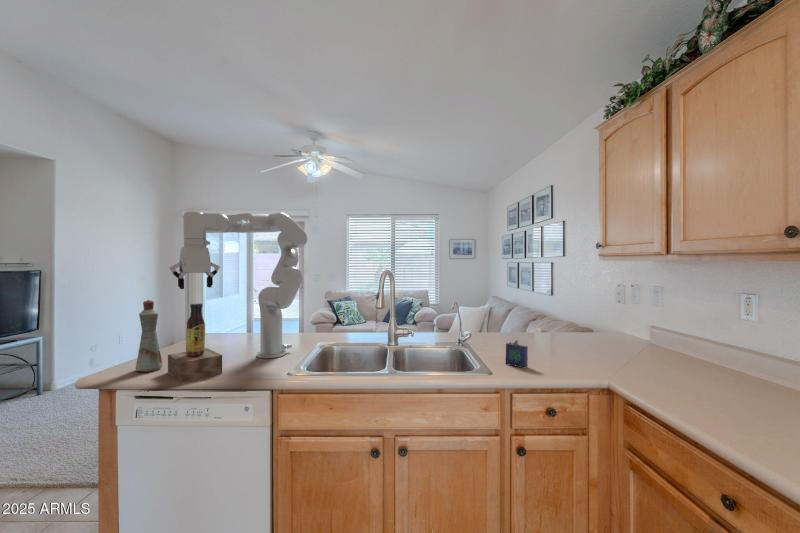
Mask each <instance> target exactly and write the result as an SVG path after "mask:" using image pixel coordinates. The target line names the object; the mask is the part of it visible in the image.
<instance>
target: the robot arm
mask: <svg viewBox="0 0 800 533" xmlns="http://www.w3.org/2000/svg"><path fill="white" fill-rule="evenodd" d="M182 221H183V246H181V248H180V252H179V262H176V263H174V264H173V265H171V266H169V268H168V269H169V270H170V272H171V273H172V275H173V276H174V277H175V278H176V279H177V286H178V288H179V290H184V289H185V278H184V276H186V274H204V273H205V275H206V276H207V277H206V288H213V287H212V286H213V284H214V281H213V280H214V279H213V278H214V277H215V276H216V274H218V272H219V269H220V265H217V264H216V263H213V262H211V254H210V251H209V247H207V246H210V245H211V241H209V240H207V234H215V233H216V234H217V233H218V234H219V233H220V234H221V233H241V234H243V233H244V234H245V233H246V234H247V233H254V234H255V233H277V232H279V233H278V235H277V244H278V246H279V249H280V253H281V254H280V256H279V260H278V261H277V264H276V266H275V267H274V270H273V272H272V273H271V283H272V284H273V285H275V286H267V287H264V288H263V289H261V290H260V292H259V294H258V297H257V298H258V306H259V314H260V315H259V316H260V323H259V324H260V326H259V328H260V330H259V331H260V333H259V334H260V337H259V338H260V347H259V348H260V350H259V352H257V353H256V357H257V358H259V359H275V358H281V357H283V356H285V355H286V349H292V348H293V345H292V343H288V344H286V343H283V312H282V310H285V309H287V308H289V307H291V305H292V304H293V302H294V300H295V298H296V296H297V294H298V291H299V289H300V287H301V285H302V282H303V274H302V271H301V270H300V268H298V267H297V265H298V263H299V259H300V256H299V253H298V249H297V248H303V247H304V246H305V245H306V244H307V242H308V236H307V235H308V234H307V233H306V231H305V230H304V229H303V228H302V227H301V226H300V225H299V224H298V223H297V222H296V221H295V220H294V219H293V218H291V216H289V215H287V214H286V213H284V212H275V213H274V212H273V213H259V212H258V213H257V212H256V213H255V212H254V213H253V212H246V213H242V212H241V213H236V214H229V215H226V214H223V213H220V212H201V211H193V210H192V211H185V212H184V213H183V220H182ZM177 268H178V271H179V272H178V271H177V270H176V269H177ZM212 268H213V271H212V270H211V269H212Z"/></svg>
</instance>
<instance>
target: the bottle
mask: <svg viewBox="0 0 800 533" xmlns="http://www.w3.org/2000/svg"><path fill="white" fill-rule="evenodd" d="M142 305H143V310H142V311H141V312H140V313H139V314H138V316H139V322H140V327H141V328H140V329H141V336H140V342H139V347H138V354H137V358H136V363H135V364H136V365H135V371H136V372H143V373H144V372H145V373H146V372H147V373H148V372H149V373H150V372H153V371H159V370H160V369H162V367H163V360H162V354H161V350H160V344H159V338H158V335H157V334H158V333H157V325H158V319H159V318H158V316H159V312H158V311H157V310H155V308H154V307H155V306H154V305H155V302H154V300H150V299H147V300H144V301H143V302H142Z"/></svg>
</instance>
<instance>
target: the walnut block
mask: <svg viewBox="0 0 800 533" xmlns="http://www.w3.org/2000/svg"><path fill="white" fill-rule="evenodd" d="M186 352H187V351H181V352H176V353H171V354H170V353H169V354H167V373H168V374H169V373H170V374H171V375H170V374H169V375H170V376H172V375H173V376H174V377H173V376H172V377H173V378H175V379H176V380H178V382H180V383H184V382H187V381H192V380H197V379H202V378H207V377H211V376H215V375H220V374H222V373H223V354H221V353H218V352H216V351H213V350H212V349H209V348H208V347H207V348H206V347H205V350H204V354H202V355H198V356H187V355H186Z"/></svg>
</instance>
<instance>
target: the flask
mask: <svg viewBox="0 0 800 533" xmlns="http://www.w3.org/2000/svg"><path fill="white" fill-rule="evenodd" d="M513 341H514V342H511V341H509V342H506V343H505V365H507V364H510V365H509V366H511V365H516V366H521V367H520V368H522V367H527V368H528V364H529V363H528V360H529V359H528V355H529V354H528V350H529V347H528V345H525V344H519V342H520V341H519V340H516V339H515V340H513ZM516 366H515V367H516Z"/></svg>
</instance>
